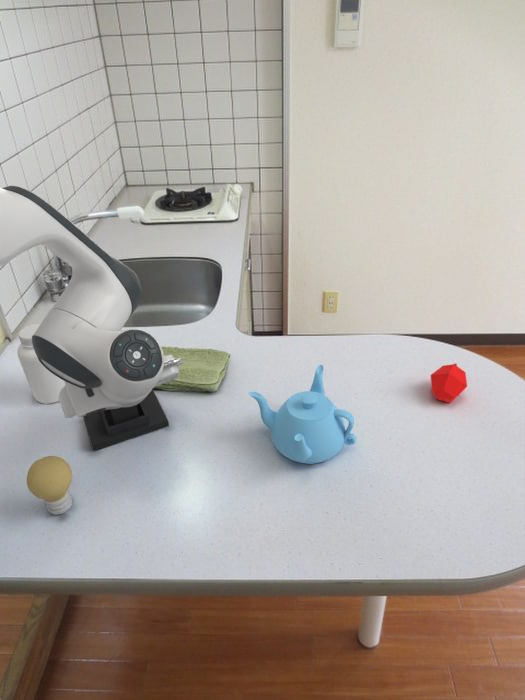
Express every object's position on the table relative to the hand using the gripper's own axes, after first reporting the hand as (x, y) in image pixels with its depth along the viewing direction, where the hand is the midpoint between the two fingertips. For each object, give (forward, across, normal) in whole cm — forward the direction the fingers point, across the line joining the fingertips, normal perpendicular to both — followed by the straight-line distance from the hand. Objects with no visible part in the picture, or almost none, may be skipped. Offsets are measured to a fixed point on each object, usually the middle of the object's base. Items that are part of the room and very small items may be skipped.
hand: (117, 393), depth 96 cm
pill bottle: (+16, +10, -7) cm, 20 cm away
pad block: (+3, 0, +4) cm, 5 cm away
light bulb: (-5, +15, +15) cm, 22 cm away
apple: (-15, -56, +24) cm, 63 cm away
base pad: (+4, 0, +5) cm, 7 cm away
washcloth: (+10, -16, 0) cm, 19 cm away
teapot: (-11, -25, +21) cm, 35 cm away
